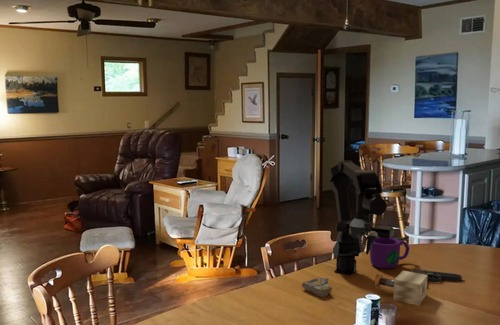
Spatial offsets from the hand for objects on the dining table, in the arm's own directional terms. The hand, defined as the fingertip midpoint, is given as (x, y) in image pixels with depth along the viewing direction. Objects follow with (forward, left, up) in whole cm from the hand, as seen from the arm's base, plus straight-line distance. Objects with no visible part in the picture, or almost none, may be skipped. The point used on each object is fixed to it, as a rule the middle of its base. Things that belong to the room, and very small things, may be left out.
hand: (363, 253), depth 164 cm
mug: (+1, +29, -12) cm, 32 cm away
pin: (+11, 0, -11) cm, 15 cm away
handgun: (+20, +19, -13) cm, 30 cm away
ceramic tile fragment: (-12, -11, -13) cm, 21 cm away
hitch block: (+16, 0, -12) cm, 20 cm away
